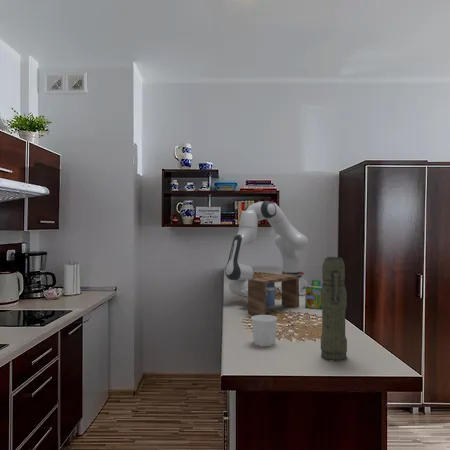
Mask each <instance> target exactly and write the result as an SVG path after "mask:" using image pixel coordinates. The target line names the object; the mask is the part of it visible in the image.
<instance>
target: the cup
mask: <svg viewBox="0 0 450 450" xmlns="http://www.w3.org/2000/svg"><path fill="white" fill-rule="evenodd" d="M250 318H251V319H250V320H251V328H252V335H253V338H252V339H253V343H254V345H255V346H260V347H271V346H273V345H276V339H277V337H276V336H277V323H278V322H277V321H278V317H277V316H274V315H270V314H266V315H253V316H251V317H250Z"/></svg>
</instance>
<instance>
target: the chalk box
mask: <svg viewBox="0 0 450 450" xmlns="http://www.w3.org/2000/svg"><path fill="white" fill-rule="evenodd" d="M316 283H317V284H316ZM321 290H322V285H321V280H320V279H311V284H308V286H306V294H305V297H304V298H305V304H304V306H305V308H308V309H315V310H322V308H321Z"/></svg>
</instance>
